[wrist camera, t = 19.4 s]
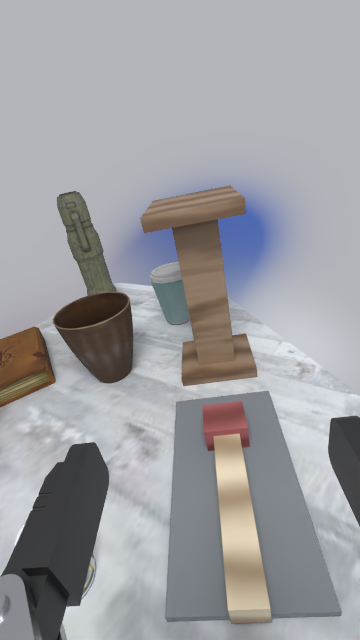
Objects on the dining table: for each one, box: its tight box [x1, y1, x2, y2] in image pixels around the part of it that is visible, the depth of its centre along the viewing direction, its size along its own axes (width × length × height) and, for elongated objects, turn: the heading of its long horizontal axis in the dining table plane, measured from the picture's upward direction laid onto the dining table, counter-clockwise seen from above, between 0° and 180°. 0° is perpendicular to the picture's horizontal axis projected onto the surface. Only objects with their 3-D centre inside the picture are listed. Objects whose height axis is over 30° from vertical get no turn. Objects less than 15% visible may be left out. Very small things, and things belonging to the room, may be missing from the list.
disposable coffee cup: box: [149, 262, 190, 325], centre depth 78 cm, size 11×11×15 cm
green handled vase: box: [57, 191, 117, 296], centre depth 89 cm, size 9×12×35 cm
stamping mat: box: [165, 391, 341, 622], centre depth 40 cm, size 28×16×1 cm, turn 179°
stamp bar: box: [202, 401, 272, 623], centre depth 36 cm, size 23×6×4 cm, turn 179°
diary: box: [0, 327, 55, 407], centre depth 71 cm, size 23×19×6 cm
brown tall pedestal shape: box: [140, 186, 257, 386], centre depth 54 cm, size 16×14×32 cm
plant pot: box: [53, 292, 133, 383], centre depth 62 cm, size 15×15×16 cm
